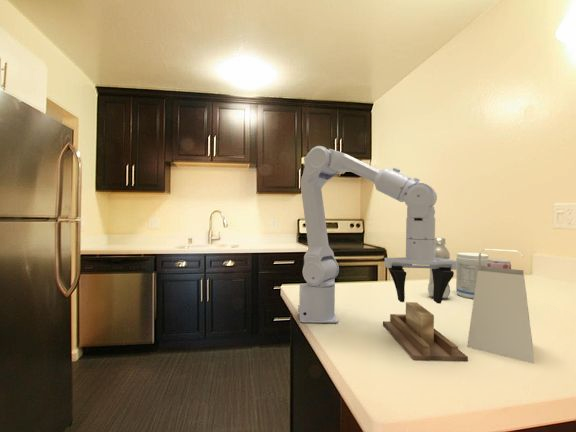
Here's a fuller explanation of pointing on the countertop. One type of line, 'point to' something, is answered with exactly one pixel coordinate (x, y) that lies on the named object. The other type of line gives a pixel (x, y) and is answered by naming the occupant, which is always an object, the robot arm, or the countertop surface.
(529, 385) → the countertop surface
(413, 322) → the brown wooden block
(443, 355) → the track
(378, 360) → the countertop surface
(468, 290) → the supplement tub
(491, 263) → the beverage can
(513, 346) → the grater
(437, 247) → the plastic bottle
